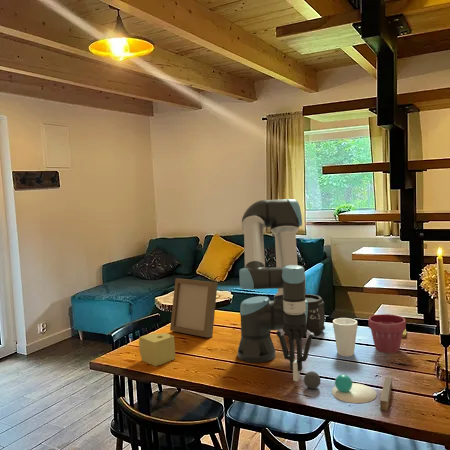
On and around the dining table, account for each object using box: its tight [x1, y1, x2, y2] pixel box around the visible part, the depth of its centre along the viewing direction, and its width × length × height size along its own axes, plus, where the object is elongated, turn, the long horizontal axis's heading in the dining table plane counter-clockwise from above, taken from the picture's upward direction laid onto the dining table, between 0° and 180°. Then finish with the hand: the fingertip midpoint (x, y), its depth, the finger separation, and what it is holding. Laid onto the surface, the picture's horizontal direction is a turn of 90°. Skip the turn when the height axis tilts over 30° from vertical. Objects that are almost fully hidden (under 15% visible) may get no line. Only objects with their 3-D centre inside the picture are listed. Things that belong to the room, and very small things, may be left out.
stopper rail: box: [379, 376, 393, 412], centre depth 147 cm, size 2×18×3 cm, turn 157°
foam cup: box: [332, 317, 358, 357], centre depth 185 cm, size 10×9×13 cm
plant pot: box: [368, 313, 407, 354], centre depth 187 cm, size 14×14×13 cm
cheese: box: [138, 332, 176, 367], centre depth 186 cm, size 10×11×10 cm
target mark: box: [331, 382, 378, 404], centre depth 151 cm, size 14×14×1 cm
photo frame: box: [169, 277, 218, 338], centre depth 220 cm, size 15×22×25 cm
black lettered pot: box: [303, 293, 326, 338], centre depth 213 cm, size 18×18×16 cm
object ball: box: [334, 374, 353, 392], centre depth 152 cm, size 6×6×6 cm
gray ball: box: [303, 371, 322, 390], centre depth 156 cm, size 6×6×6 cm
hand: (296, 379), depth 158 cm, fingers closed
